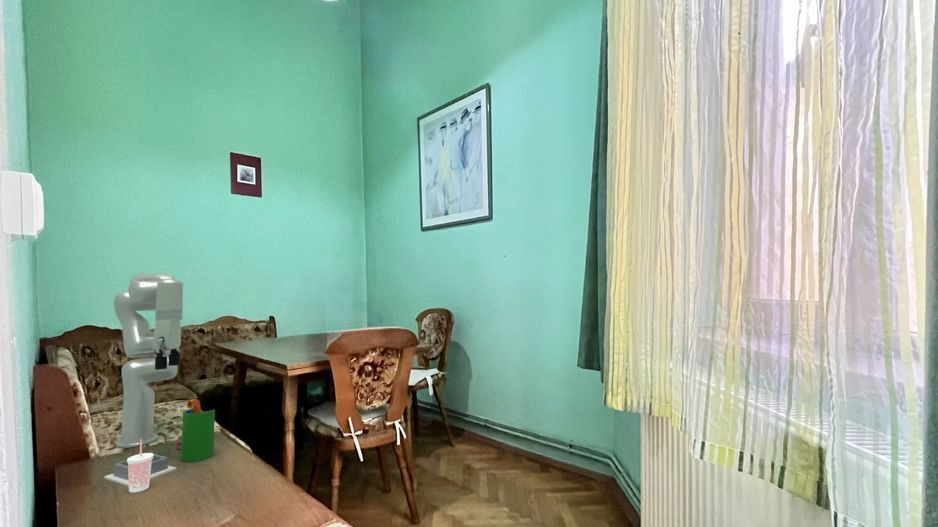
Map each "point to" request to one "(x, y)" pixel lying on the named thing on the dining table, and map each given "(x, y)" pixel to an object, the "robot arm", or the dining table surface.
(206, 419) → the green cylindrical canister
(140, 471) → the beverage cup
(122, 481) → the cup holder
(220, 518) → the dining table surface
